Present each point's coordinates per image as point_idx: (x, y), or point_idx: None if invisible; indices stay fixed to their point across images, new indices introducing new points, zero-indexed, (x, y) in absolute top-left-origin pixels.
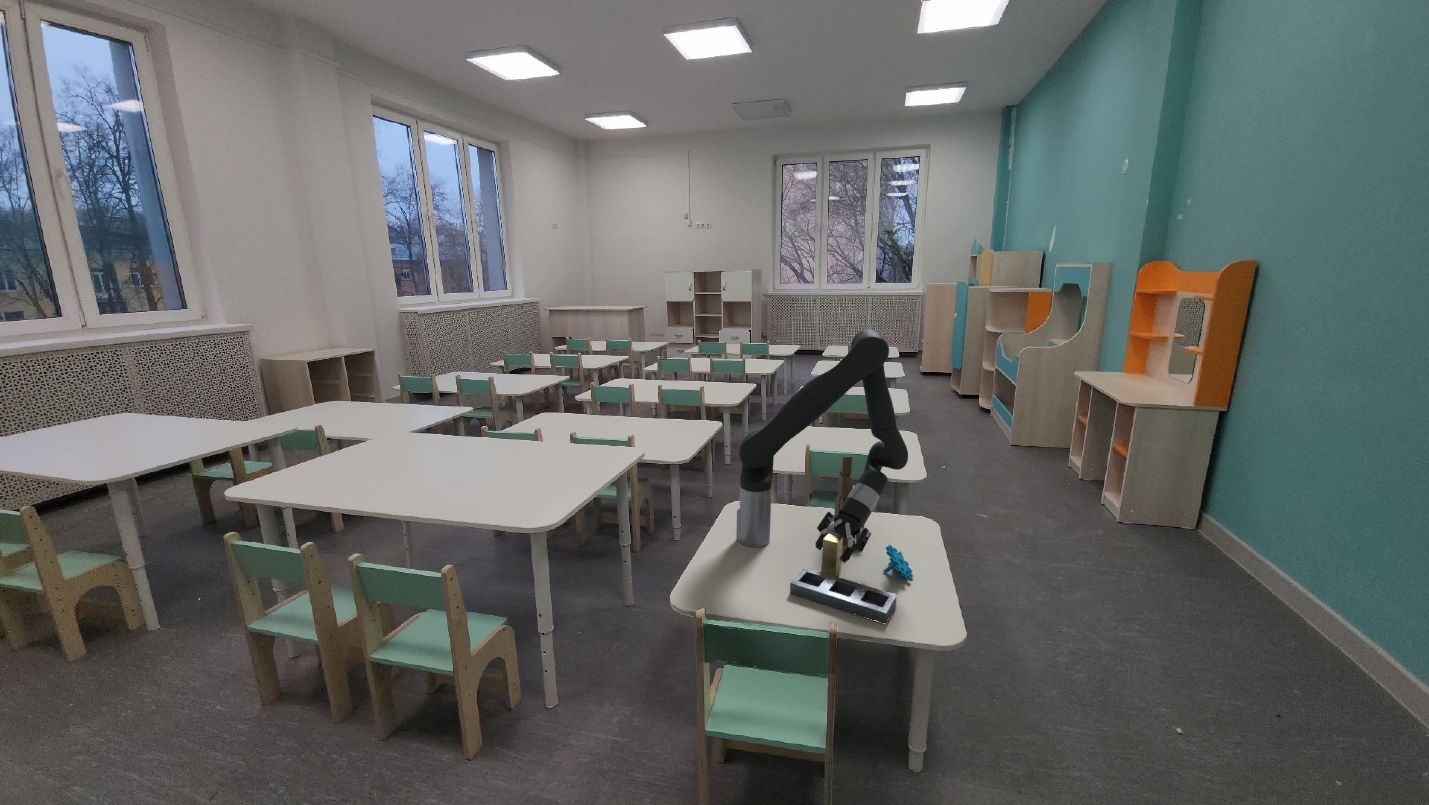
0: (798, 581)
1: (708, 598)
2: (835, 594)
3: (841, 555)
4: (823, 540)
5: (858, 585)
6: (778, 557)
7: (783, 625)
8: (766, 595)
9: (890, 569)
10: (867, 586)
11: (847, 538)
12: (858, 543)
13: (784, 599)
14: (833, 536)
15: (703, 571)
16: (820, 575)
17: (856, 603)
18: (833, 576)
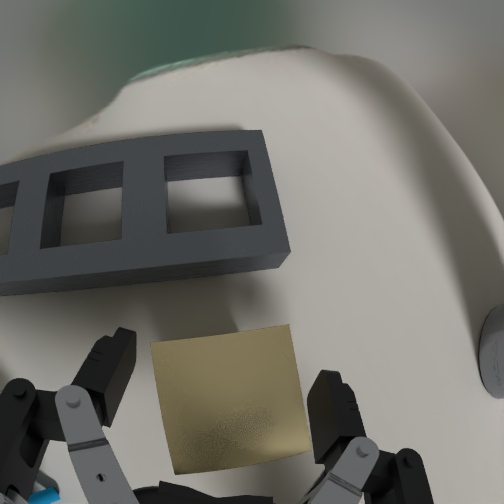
0: (244, 148)
1: (368, 75)
2: (94, 157)
3: (128, 342)
4: (282, 326)
5: (36, 262)
6: (422, 326)
7: (191, 63)
8: (298, 121)
9: (31, 494)
10: (10, 277)
11: (105, 442)
12: (10, 408)
13: (249, 127)
14: (246, 432)
15: (451, 145)
16: (196, 233)
17: (28, 159)
18: (143, 261)
